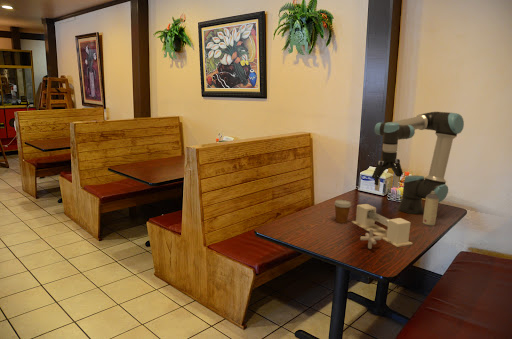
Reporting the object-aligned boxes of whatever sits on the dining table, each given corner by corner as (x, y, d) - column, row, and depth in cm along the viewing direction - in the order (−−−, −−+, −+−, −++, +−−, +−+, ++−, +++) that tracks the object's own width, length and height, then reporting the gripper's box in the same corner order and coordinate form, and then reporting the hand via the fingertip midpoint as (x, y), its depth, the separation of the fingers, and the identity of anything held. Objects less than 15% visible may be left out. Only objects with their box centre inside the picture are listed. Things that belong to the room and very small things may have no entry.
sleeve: (355, 222, 219) (357, 205, 216) (365, 221, 221) (366, 203, 219) (364, 227, 211) (366, 209, 209) (374, 226, 214) (376, 207, 212)
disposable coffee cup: (350, 220, 223) (352, 201, 220) (347, 225, 214) (349, 205, 212) (335, 217, 227) (336, 198, 224) (331, 222, 218) (332, 202, 216)
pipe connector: (356, 243, 189) (358, 225, 187) (375, 243, 190) (377, 225, 188) (363, 252, 180) (365, 232, 177) (383, 252, 180) (385, 232, 178)
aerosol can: (428, 221, 225) (432, 189, 220) (437, 225, 219) (442, 192, 214) (419, 222, 222) (424, 190, 217) (429, 226, 216) (434, 193, 211)
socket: (386, 239, 195) (388, 219, 193) (398, 237, 198) (400, 217, 196) (396, 245, 189) (398, 224, 186) (408, 243, 192) (410, 222, 190)
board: (351, 222, 220) (351, 221, 220) (365, 220, 224) (365, 219, 224) (397, 247, 187) (397, 245, 187) (412, 244, 191) (412, 243, 190)
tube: (366, 217, 212) (366, 210, 211) (372, 217, 213) (372, 210, 212) (397, 233, 190) (398, 225, 189) (403, 232, 192) (404, 224, 191)
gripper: (401, 148, 211) (398, 184, 216) (366, 152, 201) (364, 189, 206) (412, 150, 204) (408, 187, 209) (376, 154, 194) (373, 193, 199)
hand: (386, 189), depth 208 cm, fingers open, 13 cm apart
